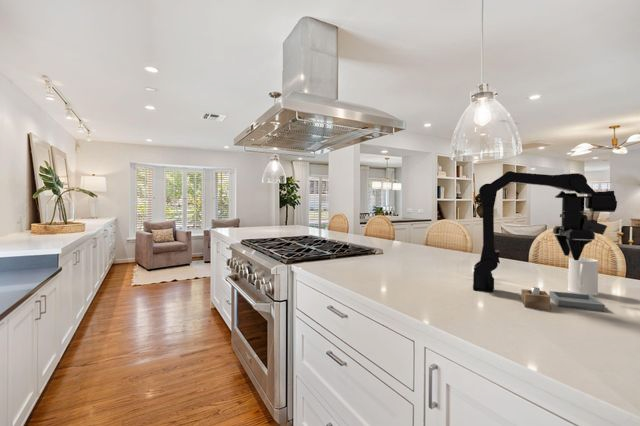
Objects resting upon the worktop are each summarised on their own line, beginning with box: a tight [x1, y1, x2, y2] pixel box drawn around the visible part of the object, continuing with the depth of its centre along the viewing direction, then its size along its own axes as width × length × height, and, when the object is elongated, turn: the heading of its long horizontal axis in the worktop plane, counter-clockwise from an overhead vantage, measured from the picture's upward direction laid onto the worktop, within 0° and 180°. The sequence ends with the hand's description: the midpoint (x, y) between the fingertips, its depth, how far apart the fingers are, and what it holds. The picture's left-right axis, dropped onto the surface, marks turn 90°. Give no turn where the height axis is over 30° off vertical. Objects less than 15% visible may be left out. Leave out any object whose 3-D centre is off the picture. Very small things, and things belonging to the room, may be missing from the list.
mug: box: [567, 257, 600, 297], centre depth 109 cm, size 12×8×12 cm
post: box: [530, 286, 541, 295], centre depth 97 cm, size 2×2×6 cm
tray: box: [548, 290, 606, 312], centre depth 98 cm, size 11×11×2 cm
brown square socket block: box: [520, 288, 551, 311], centre depth 97 cm, size 6×6×4 cm
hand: (571, 257), depth 103 cm, fingers open, 9 cm apart
